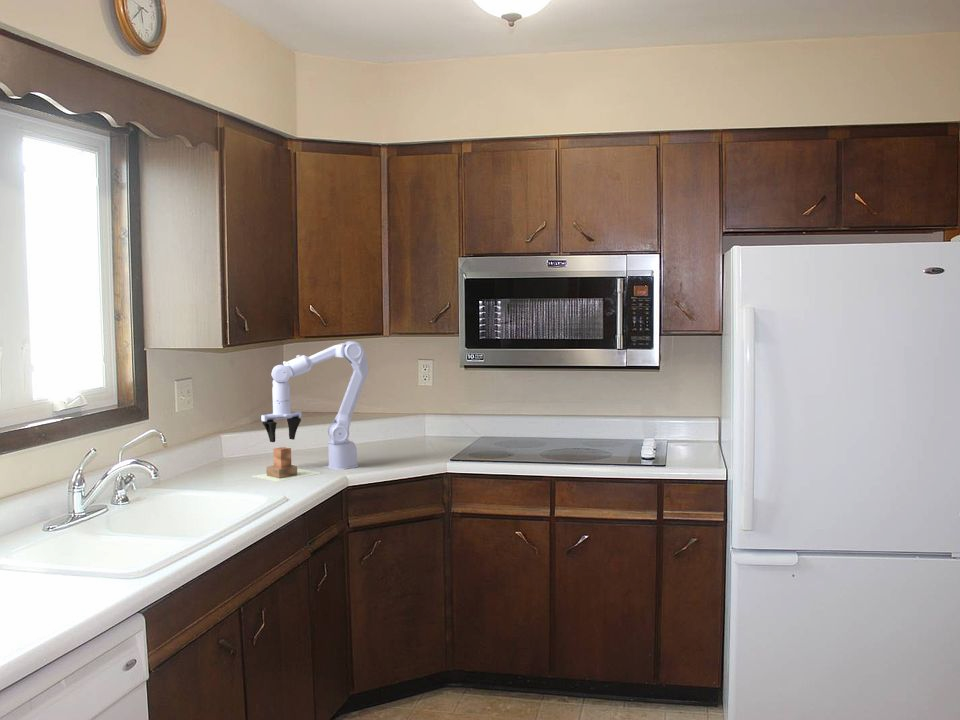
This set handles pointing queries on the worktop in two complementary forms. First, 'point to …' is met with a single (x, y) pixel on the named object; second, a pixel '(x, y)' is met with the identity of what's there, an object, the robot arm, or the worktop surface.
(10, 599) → the worktop surface
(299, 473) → the plate
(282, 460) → the cherry block
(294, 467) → the walnut slab
